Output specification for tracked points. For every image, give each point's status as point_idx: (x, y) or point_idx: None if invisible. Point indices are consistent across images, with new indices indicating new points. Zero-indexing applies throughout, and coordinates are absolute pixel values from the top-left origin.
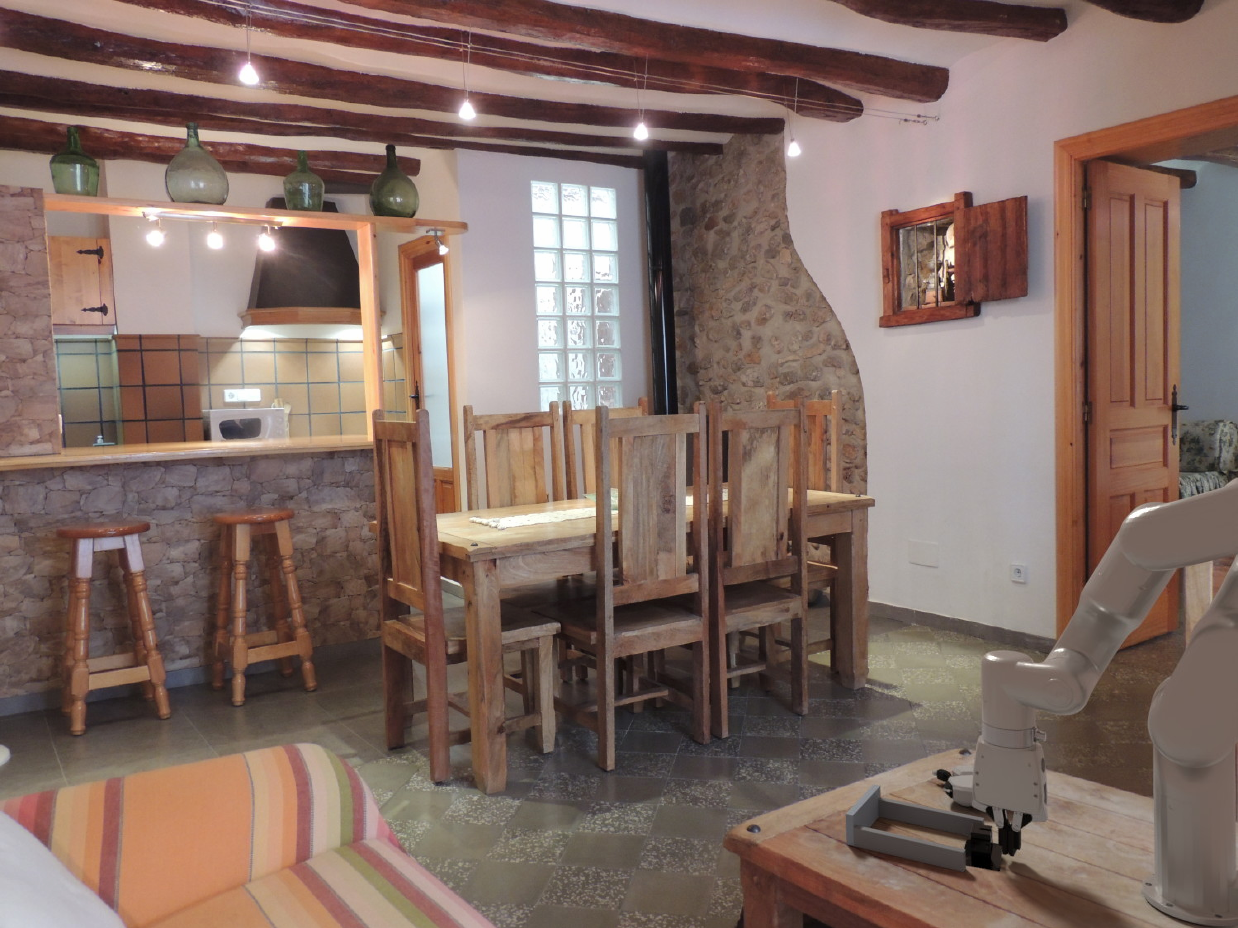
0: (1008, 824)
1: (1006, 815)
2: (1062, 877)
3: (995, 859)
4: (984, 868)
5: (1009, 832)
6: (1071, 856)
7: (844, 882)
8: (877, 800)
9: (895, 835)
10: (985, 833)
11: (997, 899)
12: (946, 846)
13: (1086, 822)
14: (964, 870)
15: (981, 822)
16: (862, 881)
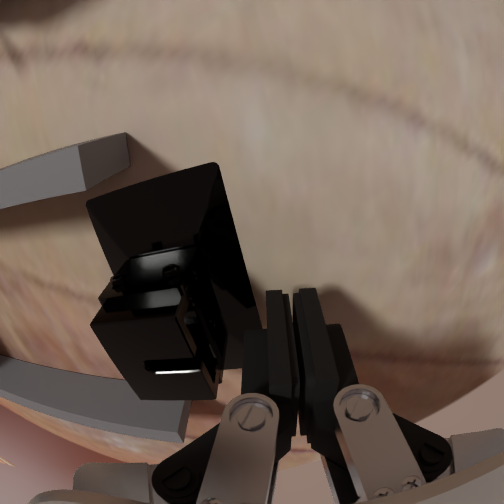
0: (290, 403)
1: (277, 436)
2: (441, 307)
3: (239, 318)
4: (227, 367)
5: (307, 435)
6: (476, 144)
7: (82, 445)
8: None
9: (29, 404)
10: (190, 392)
11: (295, 440)
12: (130, 429)
13: None
14: None
15: (87, 187)
16: (92, 443)
